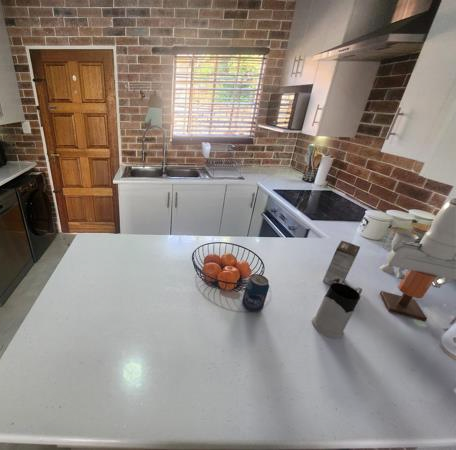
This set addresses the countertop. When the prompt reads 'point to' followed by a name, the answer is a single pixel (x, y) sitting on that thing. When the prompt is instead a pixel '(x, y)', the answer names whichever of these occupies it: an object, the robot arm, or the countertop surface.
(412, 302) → the stand
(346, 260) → the coffee box
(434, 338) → the countertop surface
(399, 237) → the chalice
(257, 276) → the soda can
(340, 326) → the glass holder
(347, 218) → the countertop surface
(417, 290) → the cup
